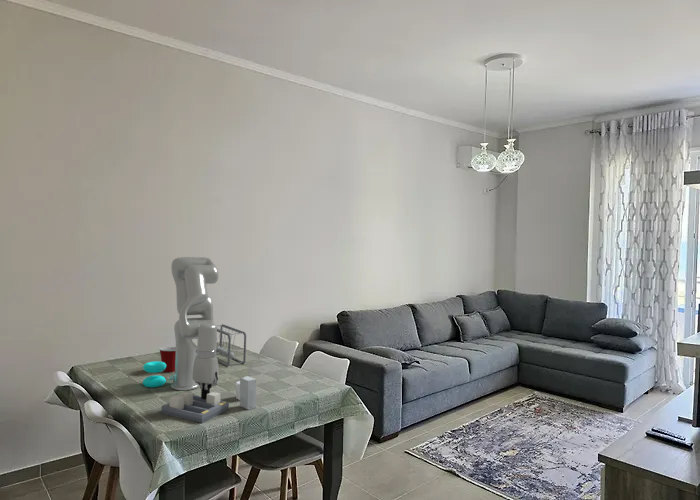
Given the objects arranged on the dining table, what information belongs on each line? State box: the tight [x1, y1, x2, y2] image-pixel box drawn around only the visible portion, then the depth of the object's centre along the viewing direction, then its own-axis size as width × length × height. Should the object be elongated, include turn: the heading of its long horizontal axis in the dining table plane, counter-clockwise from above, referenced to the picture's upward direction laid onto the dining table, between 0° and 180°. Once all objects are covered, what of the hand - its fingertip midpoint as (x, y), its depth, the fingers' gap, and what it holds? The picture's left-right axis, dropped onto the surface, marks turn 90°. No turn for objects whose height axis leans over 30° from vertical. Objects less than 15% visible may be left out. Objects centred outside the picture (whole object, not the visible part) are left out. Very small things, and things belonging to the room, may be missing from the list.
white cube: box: [169, 394, 184, 409], centre depth 186 cm, size 4×4×4 cm
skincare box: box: [239, 375, 257, 410], centre depth 196 cm, size 6×4×12 cm
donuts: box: [142, 360, 167, 388], centre depth 220 cm, size 10×10×10 cm
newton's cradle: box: [216, 324, 247, 367], centre depth 268 cm, size 30×10×18 cm, turn 41°
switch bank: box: [160, 394, 230, 424], centre depth 189 cm, size 20×16×3 cm
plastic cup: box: [158, 346, 176, 373], centre depth 242 cm, size 11×11×12 cm
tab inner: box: [207, 391, 221, 405], centre depth 192 cm, size 4×4×4 cm
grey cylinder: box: [234, 380, 240, 401], centre depth 207 cm, size 7×7×7 cm
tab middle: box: [178, 391, 194, 405], centre depth 191 cm, size 4×4×4 cm
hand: (205, 398), depth 194 cm, fingers closed
